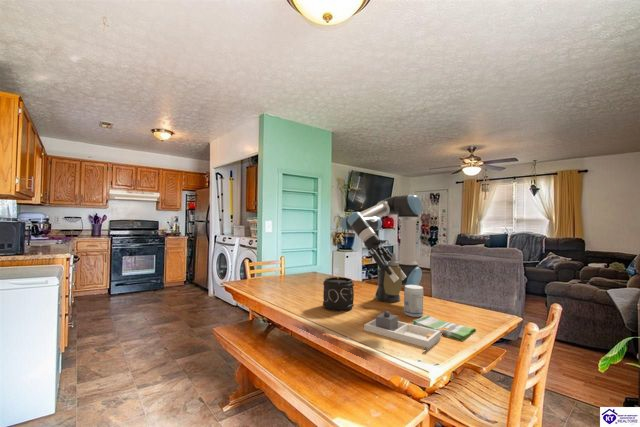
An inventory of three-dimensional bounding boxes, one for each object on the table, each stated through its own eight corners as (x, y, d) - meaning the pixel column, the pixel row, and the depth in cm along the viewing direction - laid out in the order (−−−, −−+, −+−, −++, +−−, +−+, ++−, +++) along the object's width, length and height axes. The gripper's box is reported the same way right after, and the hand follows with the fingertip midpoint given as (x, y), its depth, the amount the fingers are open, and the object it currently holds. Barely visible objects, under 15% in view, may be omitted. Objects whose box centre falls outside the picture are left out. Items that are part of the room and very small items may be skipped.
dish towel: (427, 319, 151) (427, 312, 151) (476, 331, 134) (476, 324, 134) (410, 328, 138) (410, 320, 138) (462, 342, 122) (462, 334, 122)
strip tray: (380, 324, 142) (380, 316, 142) (440, 339, 124) (440, 331, 124) (364, 332, 131) (364, 324, 131) (427, 350, 113) (427, 341, 113)
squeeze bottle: (404, 293, 134) (405, 253, 134) (398, 297, 127) (399, 255, 128) (386, 290, 138) (388, 251, 139) (380, 294, 132) (381, 253, 132)
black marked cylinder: (343, 314, 156) (343, 284, 156) (316, 308, 167) (316, 280, 167) (360, 306, 170) (360, 279, 171) (334, 301, 181) (334, 275, 182)
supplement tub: (400, 312, 160) (400, 284, 161) (416, 311, 163) (416, 284, 163) (410, 318, 151) (410, 288, 151) (427, 316, 153) (427, 288, 154)
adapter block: (383, 325, 137) (383, 308, 137) (397, 329, 132) (397, 311, 132) (375, 330, 131) (375, 311, 131) (390, 333, 127) (390, 314, 127)
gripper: (376, 243, 151) (404, 281, 139) (353, 245, 136) (383, 287, 125) (385, 234, 147) (416, 272, 136) (363, 234, 133) (395, 277, 122)
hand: (400, 279), depth 131 cm, fingers closed on squeeze bottle, 6 cm apart
